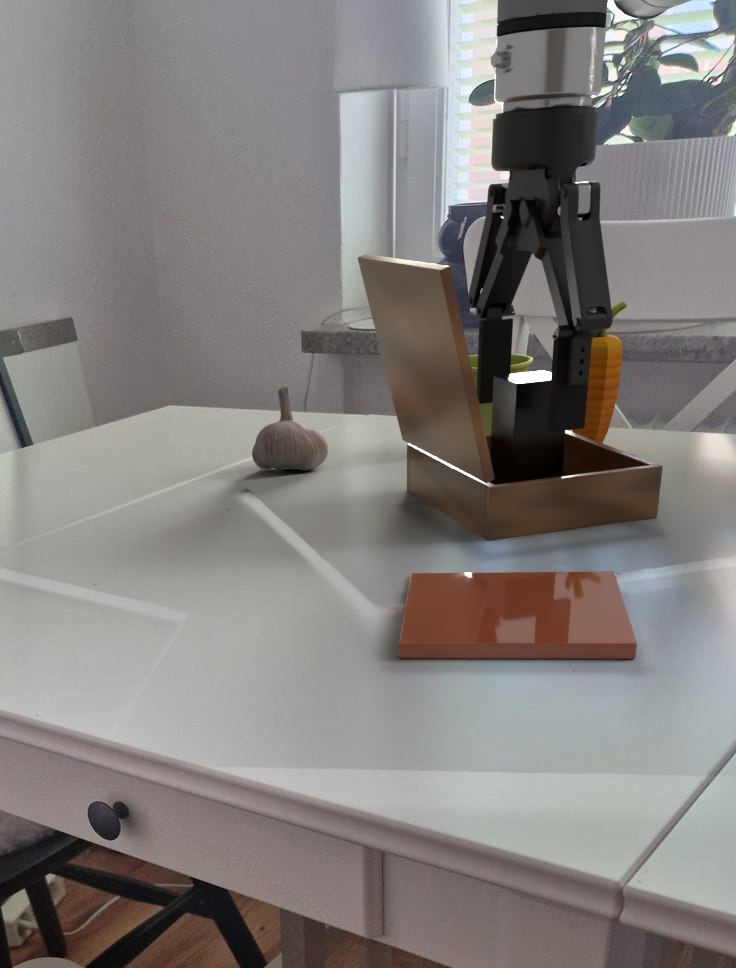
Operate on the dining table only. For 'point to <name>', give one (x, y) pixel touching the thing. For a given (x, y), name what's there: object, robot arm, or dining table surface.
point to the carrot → (602, 382)
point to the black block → (524, 429)
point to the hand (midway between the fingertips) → (526, 415)
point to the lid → (427, 360)
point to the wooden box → (542, 492)
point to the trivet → (516, 616)
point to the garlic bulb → (289, 442)
